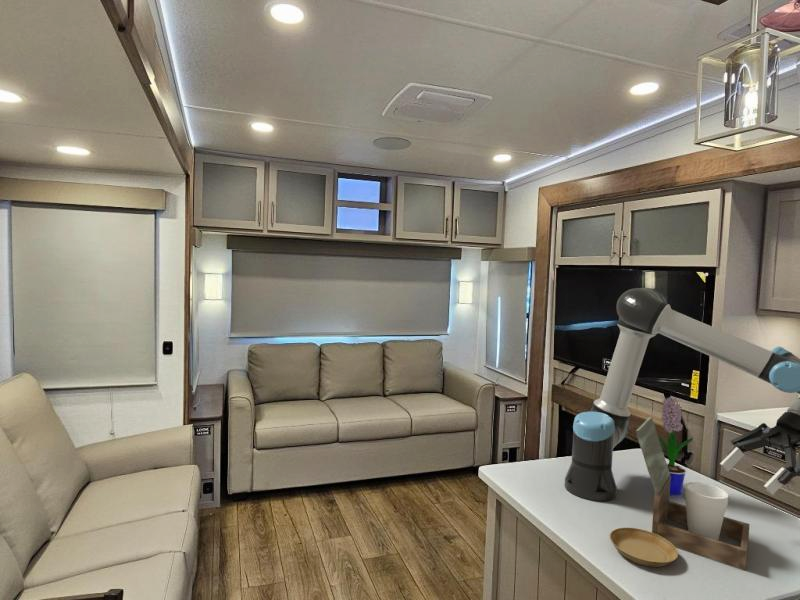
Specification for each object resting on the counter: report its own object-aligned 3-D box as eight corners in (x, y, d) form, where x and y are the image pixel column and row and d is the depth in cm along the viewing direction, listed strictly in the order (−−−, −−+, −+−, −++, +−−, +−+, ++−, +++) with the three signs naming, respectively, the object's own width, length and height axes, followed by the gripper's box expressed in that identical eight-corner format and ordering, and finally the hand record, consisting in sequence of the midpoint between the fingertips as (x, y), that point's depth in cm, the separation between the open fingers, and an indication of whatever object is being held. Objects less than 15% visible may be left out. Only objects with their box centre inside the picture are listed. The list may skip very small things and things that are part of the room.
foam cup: (710, 553, 116) (714, 501, 115) (673, 534, 124) (677, 485, 123) (732, 544, 120) (736, 494, 119) (695, 526, 128) (698, 479, 128)
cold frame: (629, 531, 124) (635, 429, 123) (642, 509, 137) (648, 416, 136) (745, 570, 109) (753, 454, 108) (748, 541, 122) (756, 437, 121)
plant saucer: (692, 568, 110) (693, 557, 110) (641, 577, 106) (641, 565, 106) (643, 534, 124) (643, 524, 124) (595, 541, 120) (596, 531, 120)
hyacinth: (695, 499, 145) (702, 402, 144) (659, 494, 147) (665, 399, 146) (684, 486, 154) (691, 395, 152) (650, 482, 156) (656, 392, 154)
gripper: (861, 448, 111) (799, 512, 110) (767, 416, 136) (715, 468, 135) (843, 426, 110) (780, 490, 109) (751, 398, 135) (700, 450, 134)
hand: (744, 478), depth 122 cm, fingers open, 13 cm apart
